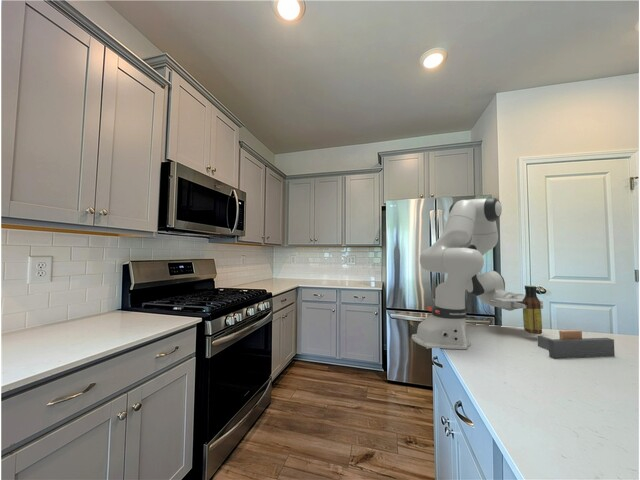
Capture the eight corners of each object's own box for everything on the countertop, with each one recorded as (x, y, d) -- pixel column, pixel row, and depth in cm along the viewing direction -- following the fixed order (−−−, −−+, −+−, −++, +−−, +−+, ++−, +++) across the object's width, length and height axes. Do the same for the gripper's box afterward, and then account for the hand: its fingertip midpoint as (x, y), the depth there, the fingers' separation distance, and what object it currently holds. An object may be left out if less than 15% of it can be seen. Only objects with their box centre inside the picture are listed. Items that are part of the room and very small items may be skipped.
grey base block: (554, 358, 91) (554, 341, 91) (524, 346, 103) (523, 330, 103) (614, 356, 93) (613, 339, 93) (578, 344, 105) (577, 329, 105)
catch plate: (563, 351, 95) (562, 331, 96) (559, 350, 97) (559, 330, 97) (582, 351, 96) (581, 331, 97) (579, 349, 97) (578, 330, 98)
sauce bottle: (540, 331, 113) (540, 285, 114) (543, 335, 107) (543, 287, 108) (521, 329, 116) (521, 284, 117) (523, 332, 111) (523, 285, 112)
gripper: (487, 294, 124) (511, 299, 110) (526, 294, 126) (554, 299, 113) (487, 307, 124) (511, 314, 110) (526, 307, 126) (554, 314, 112)
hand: (533, 306), depth 111 cm, fingers closed on sauce bottle, 6 cm apart
